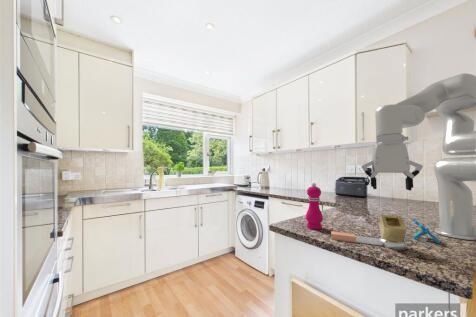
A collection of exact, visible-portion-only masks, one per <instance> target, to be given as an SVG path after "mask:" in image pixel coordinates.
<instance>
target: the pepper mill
mask: <svg viewBox="0 0 476 317" xmlns="http://www.w3.org/2000/svg"><path fill="white" fill-rule="evenodd" d="M306 193H307V196H308V199H307V201H308V204H309V205H308V208H307V211H306V213H305V220H306V221H307V222H306V228H307V229H309V230H316V231H317V230H322V227H323V224H321V223H322V222H323V220H324V217H323V213H322V211H321V209H320V201H321V200H320V199H321V197H320V196H321V195H322V190H321V189H320V187H318V186H317V184H316V183H315V182H312V184H311V186H309V187H308V188H307V190H306Z"/></svg>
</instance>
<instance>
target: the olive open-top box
mask: <svg viewBox="0 0 476 317" xmlns="http://www.w3.org/2000/svg"><path fill="white" fill-rule="evenodd" d="M378 228H379V232H380V237H382V240H388V241H396V242H405V239H406V238H405V237H406V235H407V234H406V233H407V228H406V226H405V222H404V220H403V217H402V216H399V215H391V214H380V218H379V223H378Z"/></svg>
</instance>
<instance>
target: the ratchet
mask: <svg viewBox="0 0 476 317" xmlns="http://www.w3.org/2000/svg"><path fill="white" fill-rule="evenodd" d="M330 235H331V236H330V237H331V240H333V241H334V240H336V241H343V242H350V243H357V244H359V243H360V244H366V245H371V246H372V245H373V246H380V247H383V248H386V249H390V250H396V251H404V250H406V241H404V242H396V241H388V240H382V237H381V236H379V238H376V237H369V236H362V235H356V234H355V233H350V232H341V231H334V230H331V233H330Z"/></svg>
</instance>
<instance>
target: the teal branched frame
mask: <svg viewBox="0 0 476 317" xmlns="http://www.w3.org/2000/svg"><path fill="white" fill-rule="evenodd" d="M411 222H413V223H414V224H416V225H417V226H418V227H420V228H419V229H418V232H416V233H415V234H414V235H413V236H412V239H414V240H417V239H419V238H420V237H422V236H425V235H428V236H429V237H430V238H432V239H433V240H434V241H436V243H438V244H440V243H441V240H440V239H439V238H437V237H436V236H435V235H434V234H432V233H431V231H430V229H429V228H428V227H425V226H423V225H422V224H421V223H420V222H418V220H416V219H415V218H413V219H412V221H411Z"/></svg>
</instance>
